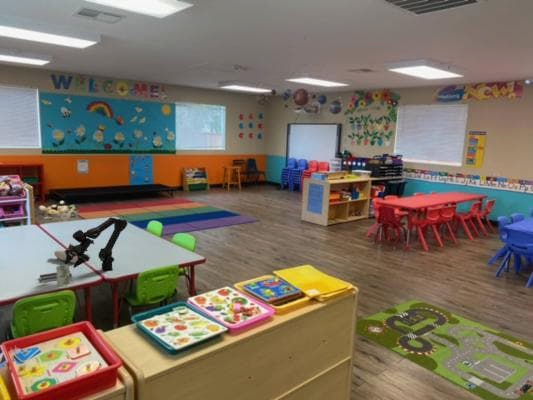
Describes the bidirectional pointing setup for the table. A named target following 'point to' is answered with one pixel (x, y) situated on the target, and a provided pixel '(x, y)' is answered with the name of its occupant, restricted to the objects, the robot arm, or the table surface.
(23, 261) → the table surface
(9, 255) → the table surface
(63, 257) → the animal model
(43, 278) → the door track
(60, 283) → the grey green block
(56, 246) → the table surface
